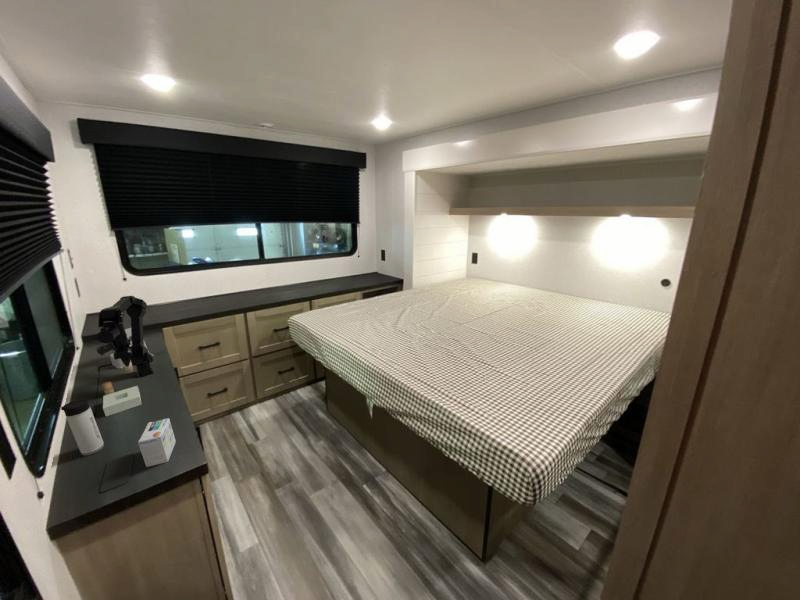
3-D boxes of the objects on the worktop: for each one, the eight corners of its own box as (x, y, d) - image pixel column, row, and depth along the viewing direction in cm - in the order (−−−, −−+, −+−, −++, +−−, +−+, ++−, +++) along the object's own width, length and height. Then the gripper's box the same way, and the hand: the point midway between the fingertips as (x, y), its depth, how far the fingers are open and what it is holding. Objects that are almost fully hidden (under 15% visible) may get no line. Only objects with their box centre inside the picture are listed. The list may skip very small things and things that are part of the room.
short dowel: (106, 394, 152) (101, 383, 150) (114, 391, 154) (111, 380, 152) (106, 397, 149) (101, 386, 147) (115, 394, 151) (110, 383, 149)
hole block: (106, 403, 145) (103, 395, 143) (139, 393, 152) (137, 385, 151) (105, 416, 136) (102, 408, 135) (141, 404, 143) (139, 396, 142)
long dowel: (125, 371, 154) (119, 352, 151) (133, 369, 156) (127, 350, 153) (125, 373, 152) (119, 354, 149) (133, 371, 154) (128, 352, 151)
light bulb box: (155, 446, 119) (147, 421, 115) (176, 441, 121) (169, 417, 118) (145, 468, 109) (136, 442, 106) (168, 462, 111) (160, 436, 108)
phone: (98, 493, 100) (107, 461, 111) (99, 495, 100) (108, 463, 112) (129, 481, 103) (134, 452, 115) (130, 483, 104) (135, 454, 116)
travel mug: (77, 452, 116) (57, 405, 110) (99, 441, 122) (82, 395, 116) (84, 458, 114) (65, 410, 107) (107, 446, 119) (90, 400, 113)
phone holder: (118, 369, 174) (107, 339, 168) (110, 365, 179) (100, 335, 174) (154, 356, 188) (146, 327, 182) (147, 352, 193) (138, 324, 188)
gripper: (95, 333, 150) (105, 363, 155) (93, 346, 137) (104, 378, 141) (125, 327, 157) (134, 356, 162) (127, 338, 143) (136, 369, 148)
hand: (127, 364), depth 153 cm, fingers closed on long dowel, 3 cm apart
